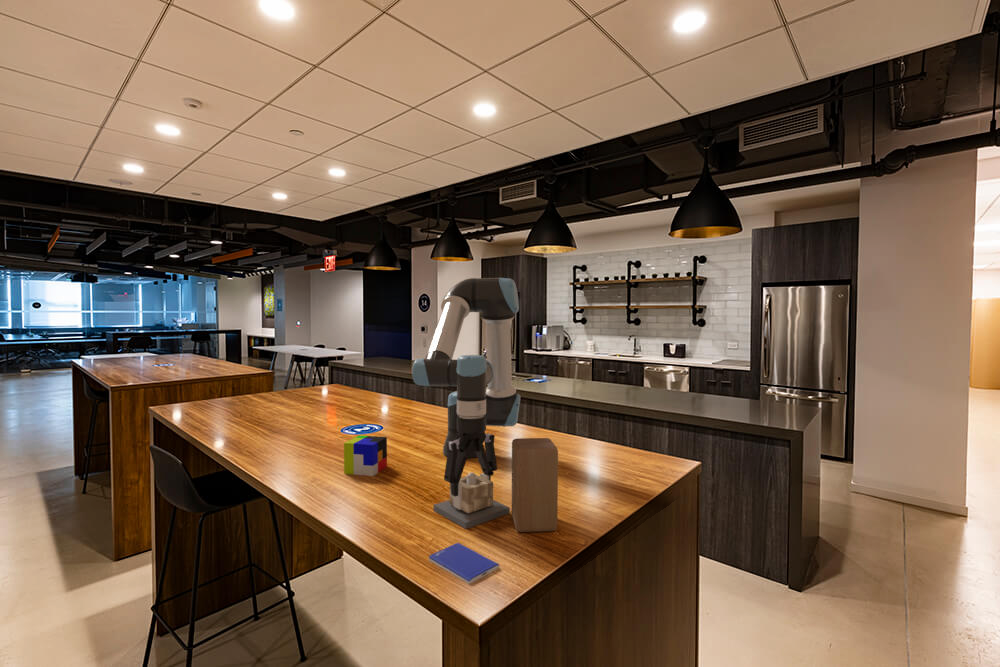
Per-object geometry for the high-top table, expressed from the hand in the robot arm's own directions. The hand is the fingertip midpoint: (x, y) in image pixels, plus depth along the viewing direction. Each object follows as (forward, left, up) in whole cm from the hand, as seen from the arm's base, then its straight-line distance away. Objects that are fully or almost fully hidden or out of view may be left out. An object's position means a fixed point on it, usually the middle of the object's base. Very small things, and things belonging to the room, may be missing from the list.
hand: (471, 503), depth 122 cm
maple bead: (0, 0, 0) cm, 0 cm away
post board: (0, 0, -2) cm, 2 cm away
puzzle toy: (+6, -49, -3) cm, 49 cm away
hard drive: (+17, +19, -3) cm, 26 cm away
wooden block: (-7, +15, -2) cm, 17 cm away
